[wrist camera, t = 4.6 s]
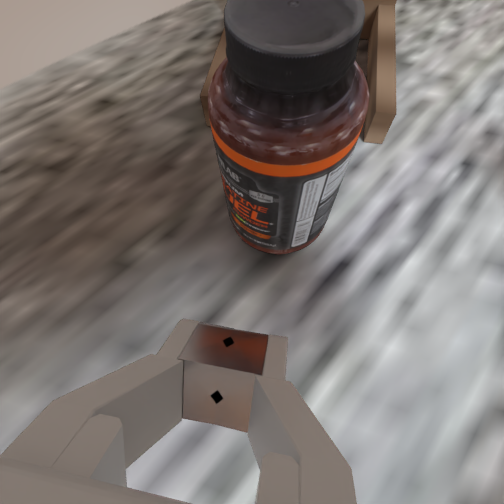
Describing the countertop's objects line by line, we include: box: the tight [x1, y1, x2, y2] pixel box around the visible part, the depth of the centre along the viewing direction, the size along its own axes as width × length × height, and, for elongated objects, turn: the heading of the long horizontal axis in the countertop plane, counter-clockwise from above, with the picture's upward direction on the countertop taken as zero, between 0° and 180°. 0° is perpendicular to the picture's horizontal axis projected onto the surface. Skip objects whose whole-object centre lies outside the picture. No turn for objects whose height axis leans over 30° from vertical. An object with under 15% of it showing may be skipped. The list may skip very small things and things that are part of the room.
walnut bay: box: [200, 0, 397, 144], centre depth 21 cm, size 13×12×5 cm
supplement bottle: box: [208, 0, 369, 254], centre depth 13 cm, size 6×6×11 cm
